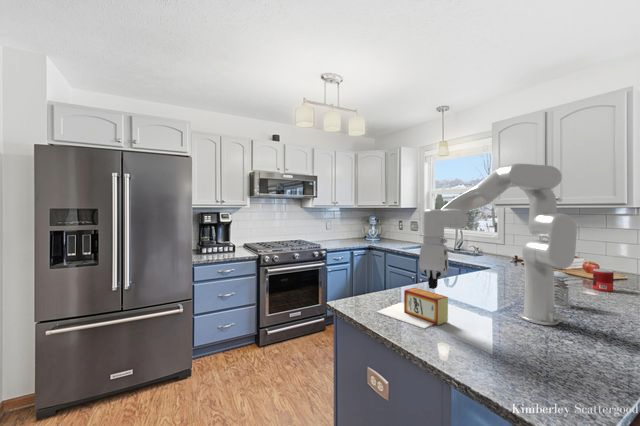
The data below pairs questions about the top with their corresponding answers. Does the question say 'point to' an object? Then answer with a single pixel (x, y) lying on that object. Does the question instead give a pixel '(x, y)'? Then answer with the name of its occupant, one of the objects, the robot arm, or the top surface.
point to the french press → (561, 291)
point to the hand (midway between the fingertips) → (432, 287)
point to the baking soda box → (426, 305)
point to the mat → (403, 316)
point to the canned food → (603, 280)
